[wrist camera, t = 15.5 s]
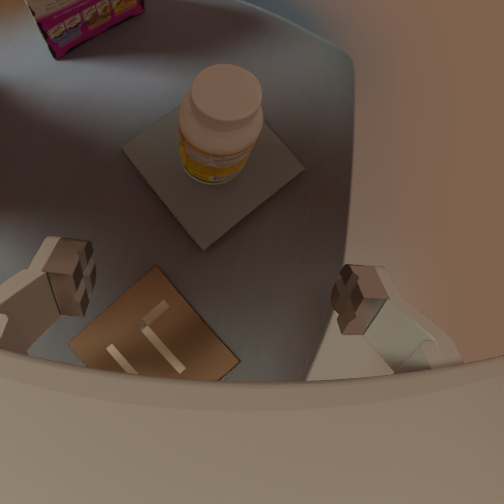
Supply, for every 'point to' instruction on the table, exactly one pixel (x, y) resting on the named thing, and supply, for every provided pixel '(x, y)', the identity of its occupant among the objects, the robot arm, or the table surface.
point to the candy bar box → (78, 20)
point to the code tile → (153, 335)
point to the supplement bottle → (219, 123)
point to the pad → (205, 195)
